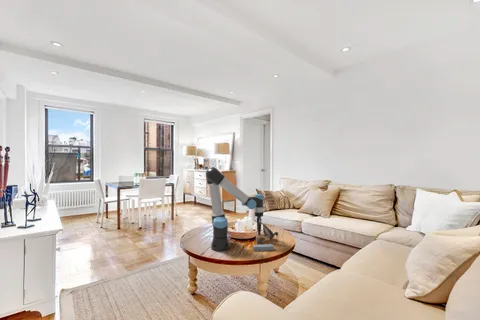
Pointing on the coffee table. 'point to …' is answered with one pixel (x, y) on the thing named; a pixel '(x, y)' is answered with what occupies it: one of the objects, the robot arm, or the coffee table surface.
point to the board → (263, 247)
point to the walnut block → (260, 239)
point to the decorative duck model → (268, 232)
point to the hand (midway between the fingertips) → (259, 238)
